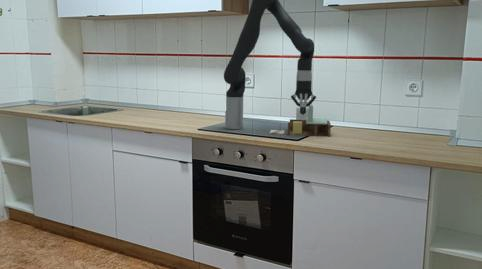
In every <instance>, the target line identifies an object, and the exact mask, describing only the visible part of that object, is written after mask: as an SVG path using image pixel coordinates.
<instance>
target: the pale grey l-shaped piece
mask: <svg viewBox="0 0 482 269" xmlns="http://www.w3.org/2000/svg"><path fill="white" fill-rule="evenodd" d="M327 121H328V120H327V118H314V106H313V105H312V104H311V105H310V106H309V112H308V118H306V124H327Z"/></svg>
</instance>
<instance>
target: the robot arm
mask: <svg viewBox="0 0 482 269" xmlns="http://www.w3.org/2000/svg"><path fill="white" fill-rule="evenodd" d="M265 11H268V12H269V13H270V14H272V15H273V17H274V18H275V20H276V21H277V23H278V25H279V27H280V28H281V30H282V31H283V33H284V34H285V35H286V36H287V37H288V38H289V39H290V42H291V43H292V45H293V46H294V48H295V49H296V50H297V51H298V52H299V53H300V54H299V55H300V57H299V58H298V59H297V64H296V65H297V66H296V67H297V68H296V69H297V71H296V79H295V80H296V81H295V82H296V83H295V84H296V86H295V92H294V94H292V95H290V98H291V99H292V101H293V102H294V103H295V105H296V107H298V106H300V113H301V115H304V114H305V113H306V107H307V106H310V105H312V103H313V102H314V101H315V100H316V99H317V96H316V95H314V94H313V91H312V83H313V82H312V81H313V71H312V70H313V58H314V54H315V43H314V41H313V40H312V39H311V38H307V37H306V36H305V35H304V34H303V31H302V29H301V27H300V26H299V25H298V24H297V23H296V21H294V20H293V18H292V17H291V16H290V14H288V12H287V11H286V9H285V8H284V7H283V5H282V4H281V2H280V0H252V1H251V5H250V8H249V12H248V13H247V14H248V15H247V17H246V20H245V22H244V25H243V27H242V30H241V32H240V35H239V38H238V41H237V42H236V45H235V47H234V50H233V53H232V56H231V57H230V60H229V61H228V64H227V65H226V68H225V70H224V72H223V79H224V81H225V83H226V84H227V85H229V89H228V90H227V91H226V93H225V95H226V98H225V103H226V105H225V112H224V113H225V116H224V117H225V118H224V119H225V121H224V123H225V124H224V126H225V127H224V128H225V129H227V130H242V129H244V94H245V90H246V81H247V80H246V78H247V77H246V76H247V75H246V72H245V69H244V68H243V64H244V62H245V61H246V59H247V58H248V57H249V56H250V54H251V53H252V51H253V50H254V49H255V47H256V45H257V42H258V40H259V37H260V34H261V33H260V32H261V21H262V18H263V16H264V12H265ZM296 98H297V99H298V100H299V101H300V103H299V101H298V100H297V99H296ZM309 99H310V100H309ZM308 100H309V101H308ZM303 101H304V107H303ZM307 101H308V102H309V103H307ZM306 103H307V104H306Z"/></svg>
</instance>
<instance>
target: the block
mask: <svg viewBox="0 0 482 269" xmlns="http://www.w3.org/2000/svg"><path fill="white" fill-rule="evenodd" d="M293 134H302V122H300V121H293Z"/></svg>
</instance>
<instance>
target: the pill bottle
mask: <svg viewBox="0 0 482 269" xmlns="http://www.w3.org/2000/svg"><path fill="white" fill-rule="evenodd" d="M298 103H300V100H299V101H298ZM307 103H309V101H308V100H307ZM307 103H306V104H307ZM303 107H304V100H303ZM295 111H296V112H295V115H296V116H295V120H306V118H308V112H309V106H307V107H306V113H305V114H304V115H301V113H300V106H296V110H295Z"/></svg>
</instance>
